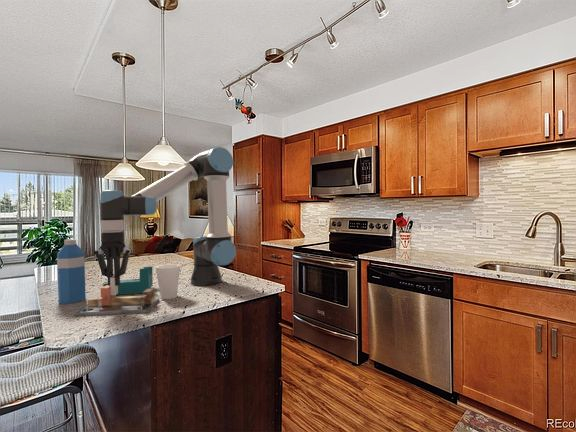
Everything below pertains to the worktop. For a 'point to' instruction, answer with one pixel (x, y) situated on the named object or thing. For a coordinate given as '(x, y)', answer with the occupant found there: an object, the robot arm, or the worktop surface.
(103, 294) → the sliding jaw
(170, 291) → the foam cup
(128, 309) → the bolt plate
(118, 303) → the beam gauge
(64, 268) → the water bottle
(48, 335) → the worktop surface
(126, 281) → the teal l-shaped bracket
